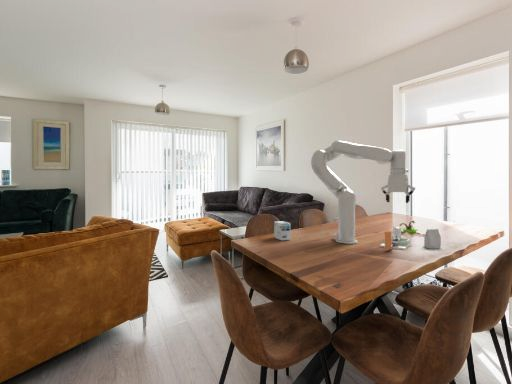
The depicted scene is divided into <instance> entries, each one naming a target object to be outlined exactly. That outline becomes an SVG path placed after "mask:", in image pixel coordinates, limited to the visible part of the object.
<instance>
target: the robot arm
mask: <svg viewBox="0 0 512 384" xmlns="http://www.w3.org/2000/svg"><path fill="white" fill-rule="evenodd" d="M406 154H407V153H406V151H405V150H403V149H397V150H396V149H395V150H392V151H391V150H389V149H388V148H383V147H380V146H379V147H378V146H373V145H365V144H359V143H358V144H357V143H354V142H349V141H345V140H334V141H333V142H332V143H331V145H330V146H328V147H326V148H325V149H317V150H315V151H314V152H313V154H312V157H311V160H310V165H311V169H312V171H313V173H314V174H315V175H316V177H317V178H318V179H319V180H320V181H321V182H322V183H323V184H324V185H325V187H326V188H327V190H328V191H330V192H331V193H332V194H333V196H335V197H336V199H337V201H338V203H337V204H338V205H337V206H338V207H337V208H338V210H337V211H338V212H337V213H338V214H337V215H338V220H337V224H338V225H337V226H338V229H337V230H338V231H337V233H332V234H331V236H332V237H333V238H335V242H336V243H339V244H351V245H352V244H358V242H359V241H358V239H356V204H357V203H356V201H357V200H356V194H355V192H354V190H351V189H350V187H349V186H348V185H346V184H345V183H344V181H343V180H342V179H341V178H340V177H339V176H337V175H336V174H335V173H334V172H333V171H332V170H331V168H329V166H328V165H327V163H329V162H331V161H333V160H335V159H337V158H339V157H341V156H342V157H345V158H350V159H356V160H363V159H364V160H371V161H375V162H376V163H377V164H380V165H386V164H390V166H389V167H390V169H389V170H390V173H389V175H388V178H387V184H385V186H382V187H381V188H380V190H381V191H382V193H383V194H384V195H385V201H386V203H390V199H391V197H390V194H391V193H404V194H405V204H408V203H409V202H410V196H411V195H412V194H413V193H414V191H416V187H415V186H413V185H410V184H409V179H408V178H409V177H408V173H409V169H406V163H407V162H406V157H407V156H406ZM385 189H387V191H386V190H385ZM409 189H411V190H410V191H409Z"/></svg>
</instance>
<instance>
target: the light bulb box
mask: <svg viewBox="0 0 512 384" xmlns="http://www.w3.org/2000/svg"><path fill="white" fill-rule="evenodd" d="M273 225H274V226H273V229H274V230H273V232H274V233H273V234H274V235H273V236H274V237H275V238H274V237H273V238H274V239H277V240H280V241H291V235H292V234H291V233H292V231H291V222H288V221H284V220H281V221H280V220H278V221H274V222H273Z"/></svg>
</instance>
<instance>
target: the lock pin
mask: <svg viewBox="0 0 512 384" xmlns="http://www.w3.org/2000/svg"><path fill="white" fill-rule="evenodd" d="M384 238H385V247H384V250H390V251H391V250H393V248H392V247H393V246H394V245H395V244H393V243H392V242H393V230H385V231H384Z"/></svg>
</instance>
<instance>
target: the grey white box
mask: <svg viewBox="0 0 512 384" xmlns="http://www.w3.org/2000/svg"><path fill="white" fill-rule="evenodd" d="M424 234H425V236H424V238H423V239H424V242H423V243H424V244H423V247H424V248H427V249H441V247H442V246H441V245H442V244H441V243H442V242H441V241H442V237H441V234H440V231H439V229H438V228H433V229H432V228H431V229H430V228H429V229H426V231H425V233H424Z"/></svg>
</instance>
